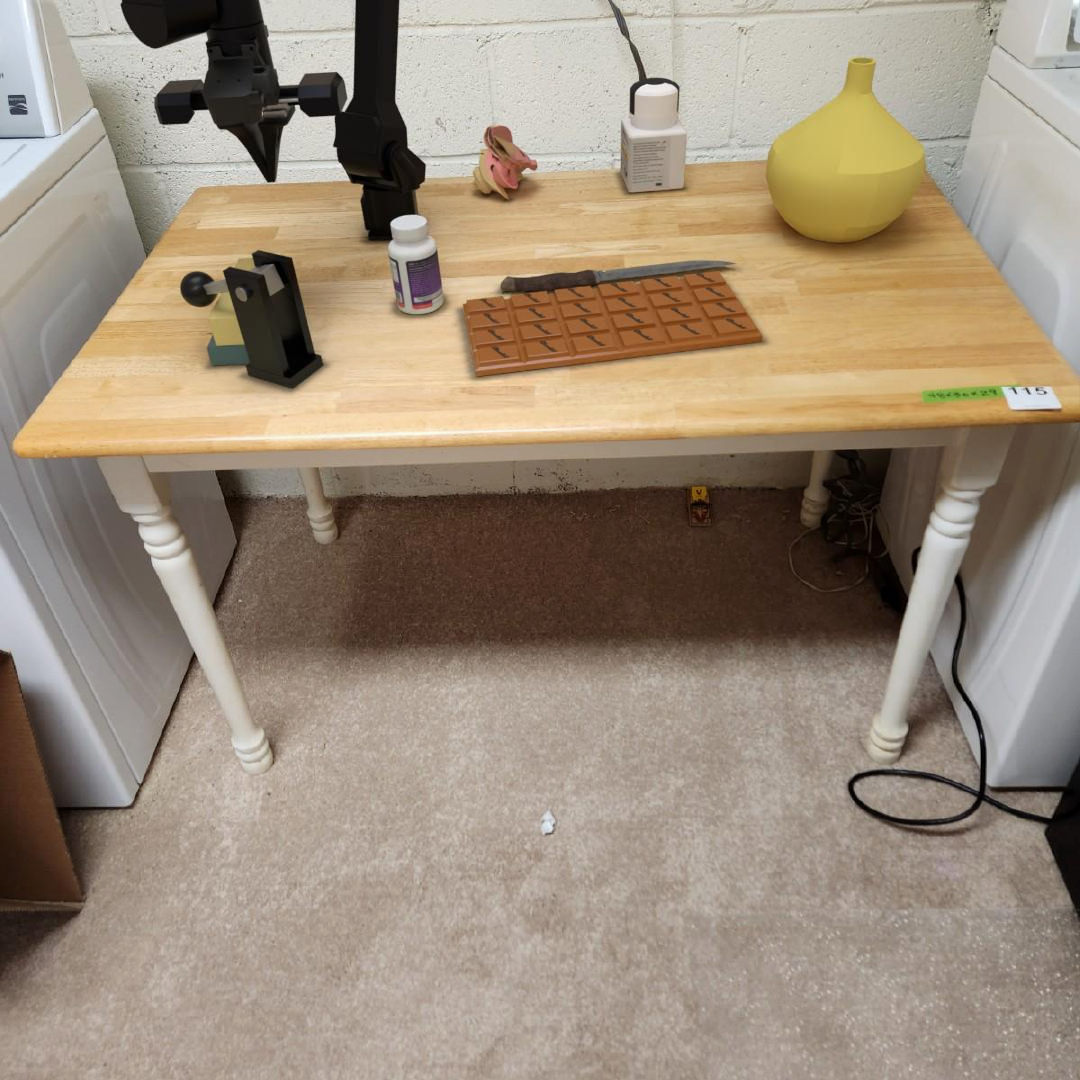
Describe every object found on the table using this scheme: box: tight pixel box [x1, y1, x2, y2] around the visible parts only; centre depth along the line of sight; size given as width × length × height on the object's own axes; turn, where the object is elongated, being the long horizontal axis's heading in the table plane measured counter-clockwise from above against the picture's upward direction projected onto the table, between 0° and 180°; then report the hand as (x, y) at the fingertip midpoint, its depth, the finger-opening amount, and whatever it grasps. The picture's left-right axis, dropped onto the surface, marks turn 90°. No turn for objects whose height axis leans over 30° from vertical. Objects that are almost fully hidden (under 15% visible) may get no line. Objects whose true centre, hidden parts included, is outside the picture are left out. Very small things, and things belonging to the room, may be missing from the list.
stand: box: [222, 249, 324, 389], centre depth 92 cm, size 6×6×12 cm
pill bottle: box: [387, 214, 445, 315], centre depth 102 cm, size 5×5×10 cm
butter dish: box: [206, 334, 250, 367], centre depth 102 cm, size 5×14×2 cm, turn 1°
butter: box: [207, 257, 255, 346], centre depth 100 cm, size 14×3×3 cm, turn 1°
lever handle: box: [179, 264, 284, 308], centre depth 92 cm, size 13×4×4 cm, turn 61°
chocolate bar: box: [462, 270, 763, 377], centre depth 100 cm, size 14×30×1 cm, turn 99°
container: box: [620, 77, 688, 194], centre depth 125 cm, size 8×8×13 cm
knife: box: [500, 259, 738, 292], centre depth 108 cm, size 28×3×1 cm, turn 99°
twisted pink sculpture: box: [471, 124, 539, 200], centre depth 128 cm, size 9×10×10 cm
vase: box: [765, 56, 927, 243], centre depth 109 cm, size 18×18×19 cm
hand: (272, 181), depth 101 cm, fingers closed
